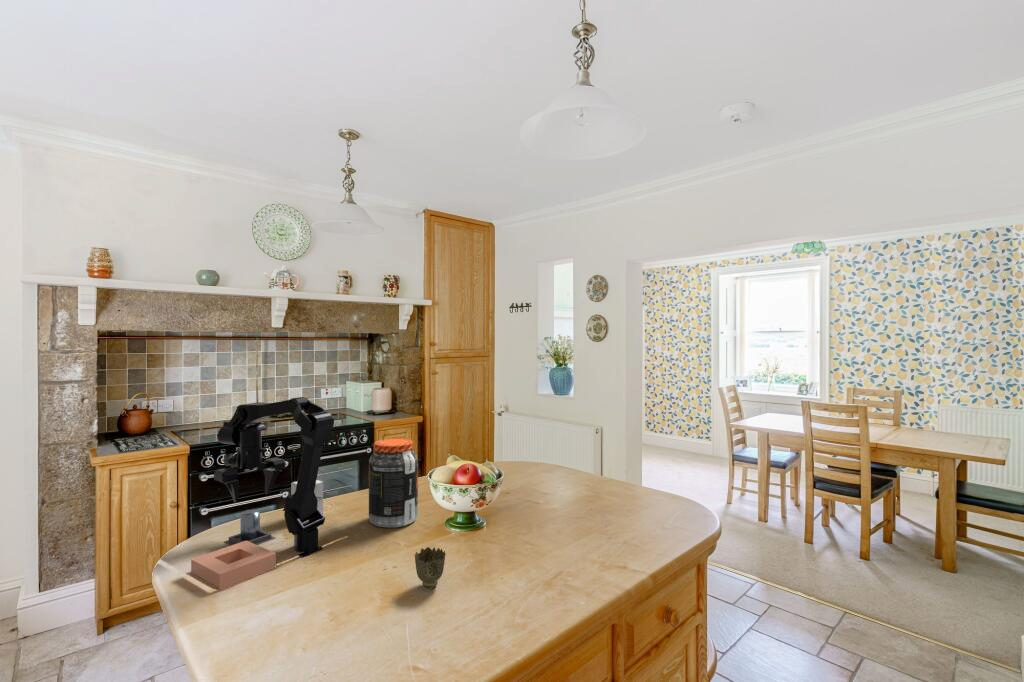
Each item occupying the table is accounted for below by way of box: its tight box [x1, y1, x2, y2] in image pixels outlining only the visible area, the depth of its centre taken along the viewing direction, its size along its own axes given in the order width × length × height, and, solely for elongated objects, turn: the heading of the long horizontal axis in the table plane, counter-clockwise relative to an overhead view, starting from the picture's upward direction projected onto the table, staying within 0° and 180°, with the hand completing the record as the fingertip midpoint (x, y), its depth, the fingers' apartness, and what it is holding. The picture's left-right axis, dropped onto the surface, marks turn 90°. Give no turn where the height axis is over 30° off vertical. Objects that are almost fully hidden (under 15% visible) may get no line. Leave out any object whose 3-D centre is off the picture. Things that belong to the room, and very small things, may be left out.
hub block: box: [190, 540, 277, 592], centre depth 128 cm, size 14×14×4 cm
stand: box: [223, 529, 277, 546], centre depth 146 cm, size 10×10×2 cm
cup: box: [414, 546, 447, 589], centre depth 122 cm, size 8×7×8 cm
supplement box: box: [290, 479, 324, 524], centre depth 164 cm, size 7×7×13 cm
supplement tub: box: [368, 437, 419, 528], centre depth 164 cm, size 16×16×26 cm
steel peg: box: [239, 509, 261, 541], centre depth 146 cm, size 5×5×8 cm
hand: (251, 498), depth 148 cm, fingers open, 9 cm apart
